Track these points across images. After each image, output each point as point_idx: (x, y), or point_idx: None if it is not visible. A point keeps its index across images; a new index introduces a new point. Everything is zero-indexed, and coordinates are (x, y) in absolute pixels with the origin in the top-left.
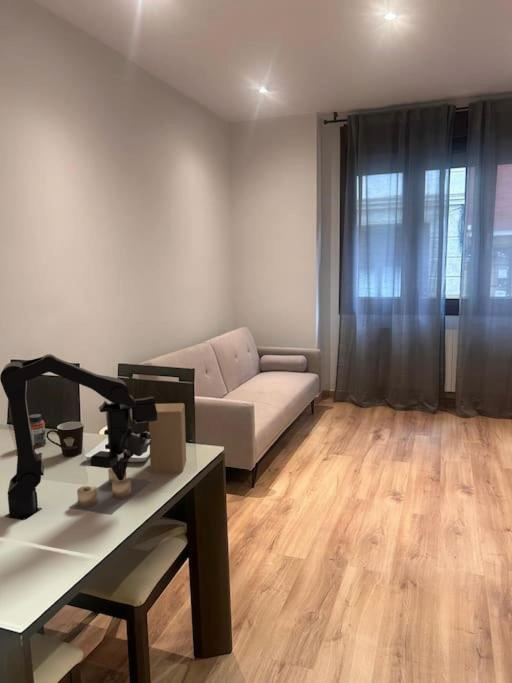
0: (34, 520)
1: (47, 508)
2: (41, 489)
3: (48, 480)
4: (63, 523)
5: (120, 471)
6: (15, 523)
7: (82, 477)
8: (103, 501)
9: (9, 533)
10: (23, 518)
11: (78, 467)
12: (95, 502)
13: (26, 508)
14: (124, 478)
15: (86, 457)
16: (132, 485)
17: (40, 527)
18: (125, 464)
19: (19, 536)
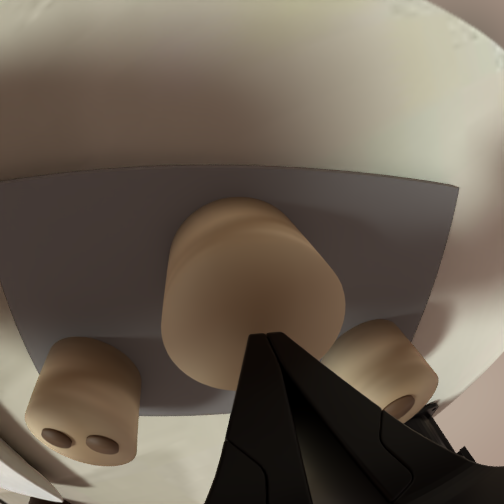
0: None
1: None
2: None
3: (199, 499)
4: (465, 323)
5: (369, 408)
6: None
7: (133, 470)
8: None
9: (470, 382)
10: (431, 412)
11: (91, 487)
12: (382, 327)
13: (434, 431)
14: (186, 341)
15: (61, 498)
16: (80, 278)
17: (467, 355)
18: (305, 488)
19: (487, 358)
